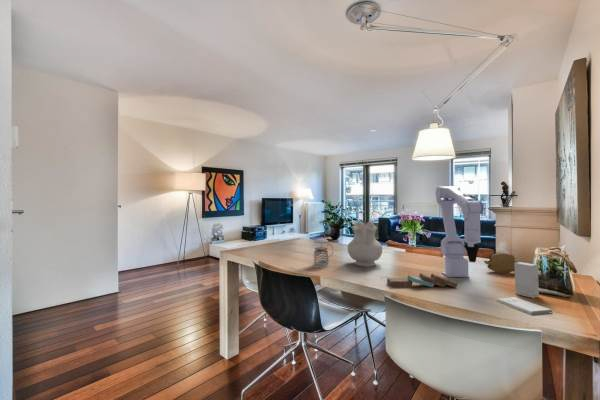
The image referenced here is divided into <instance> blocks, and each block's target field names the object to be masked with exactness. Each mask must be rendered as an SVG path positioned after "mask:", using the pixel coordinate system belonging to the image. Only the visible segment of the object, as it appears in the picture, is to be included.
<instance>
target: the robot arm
mask: <svg viewBox="0 0 600 400" xmlns="http://www.w3.org/2000/svg"><path fill="white" fill-rule="evenodd" d="M435 199H436V203H437V205H439V206H440V210H441V216H442V222H443V226H444V235H445V237H443V239H442V240H441V241H440V252H441V254H442V255H443V256H444V271H441V273H442V274H443V275H445V276H447V278H470V276H469V263H476V260H477V257H478V252H479V250H480V248H481V244H479V243H482V241H481V240H482V239H481V215H482V214H483V212H484V204H483V202H482V201H481V200H474V198H472V197H470V195H469V194H468V193H462V192H461V189H460V187H459V186H457V185H455V186H453V185H450V186H448V185H447V186H445V185H444V186H442V185H438V186H437V187H436V189H435ZM455 204H456V205H458V207H460V208H461V213H462V219H464V221H463V222H464V223H463V227H464V234H463V238H461V237H459V236H458V233H457V228H456V221H455V218H454V211H453V205H455ZM466 254H467V257H465V256H466Z"/></svg>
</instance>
